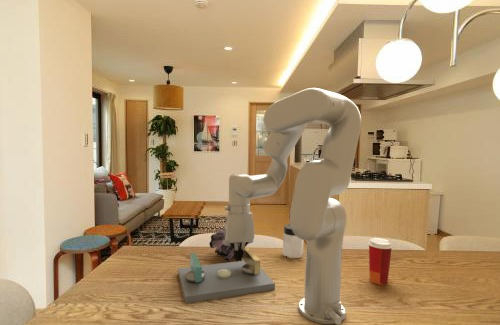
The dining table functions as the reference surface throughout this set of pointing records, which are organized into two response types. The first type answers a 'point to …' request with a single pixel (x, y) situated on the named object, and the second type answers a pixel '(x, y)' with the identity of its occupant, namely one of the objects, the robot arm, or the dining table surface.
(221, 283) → the board
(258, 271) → the knob
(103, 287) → the dining table surface
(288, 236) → the jar
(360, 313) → the dining table surface
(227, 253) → the decorative flower
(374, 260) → the paper cup
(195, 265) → the knob
